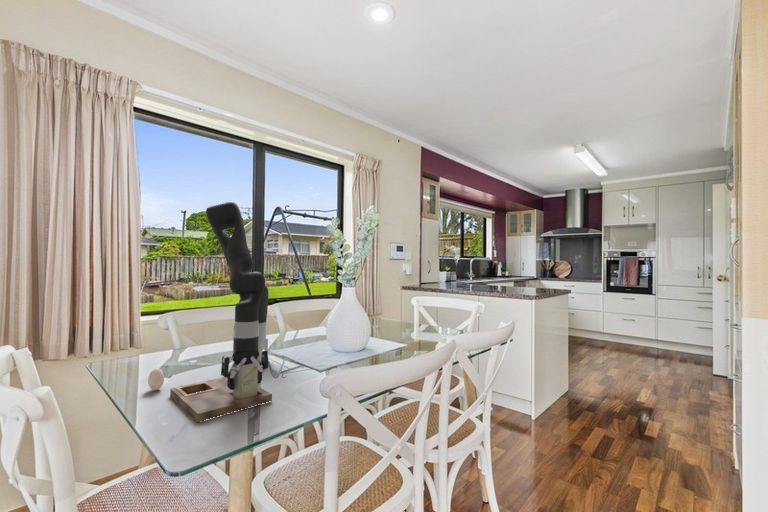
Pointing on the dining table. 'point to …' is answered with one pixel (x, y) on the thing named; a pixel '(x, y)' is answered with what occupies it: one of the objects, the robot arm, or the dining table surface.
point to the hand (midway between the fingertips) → (245, 386)
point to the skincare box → (245, 381)
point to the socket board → (213, 399)
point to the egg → (156, 379)
